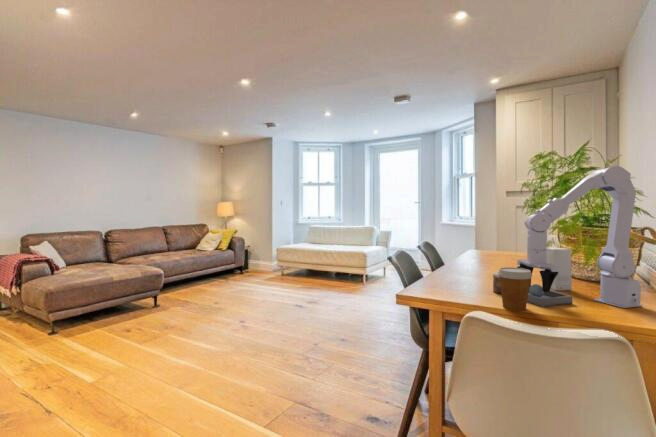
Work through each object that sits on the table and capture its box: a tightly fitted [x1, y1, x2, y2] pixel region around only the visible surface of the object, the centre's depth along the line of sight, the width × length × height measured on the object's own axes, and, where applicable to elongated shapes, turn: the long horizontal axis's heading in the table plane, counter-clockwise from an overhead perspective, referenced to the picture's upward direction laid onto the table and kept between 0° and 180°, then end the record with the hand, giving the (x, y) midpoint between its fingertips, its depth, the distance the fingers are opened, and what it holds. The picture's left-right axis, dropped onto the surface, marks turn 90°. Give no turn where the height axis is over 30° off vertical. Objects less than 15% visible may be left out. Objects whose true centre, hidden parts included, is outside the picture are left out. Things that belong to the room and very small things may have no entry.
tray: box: [527, 287, 573, 308], centre depth 116 cm, size 16×12×2 cm
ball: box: [529, 283, 544, 297], centre depth 116 cm, size 4×4×4 cm
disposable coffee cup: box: [497, 266, 533, 312], centre depth 106 cm, size 10×10×12 cm
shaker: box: [492, 273, 502, 295], centre depth 125 cm, size 5×5×6 cm
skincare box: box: [541, 246, 573, 292], centre depth 131 cm, size 8×7×16 cm
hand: (536, 289), depth 116 cm, fingers open, 7 cm apart
